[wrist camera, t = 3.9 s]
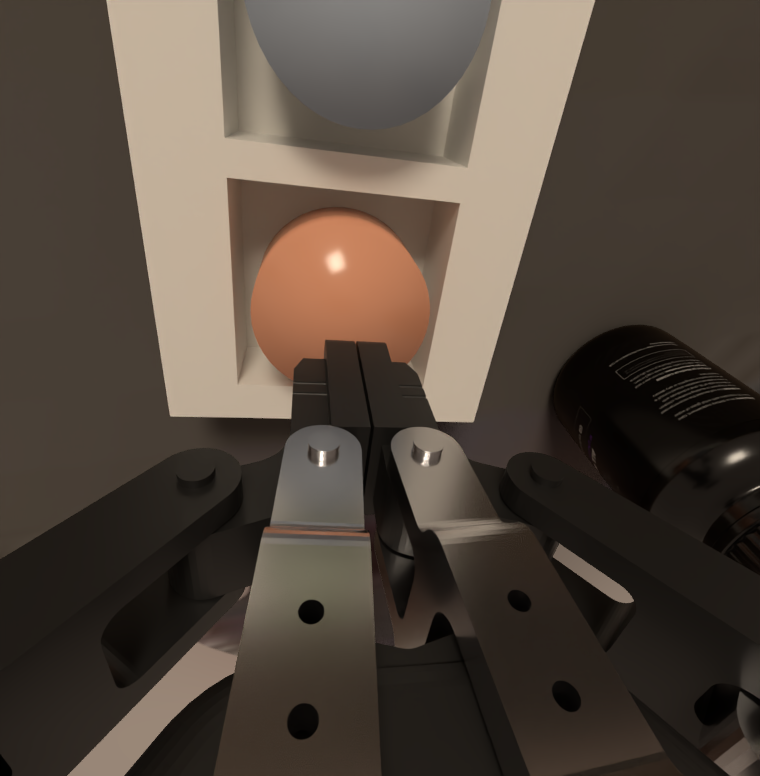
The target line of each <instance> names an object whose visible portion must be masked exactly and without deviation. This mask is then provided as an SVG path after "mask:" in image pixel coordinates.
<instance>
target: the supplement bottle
mask: <svg viewBox="0 0 760 776" xmlns="http://www.w3.org/2000/svg"><path fill="white" fill-rule="evenodd" d="M553 403H554V409H555V412H556V415H557V417H558V418H559V420H560V422H561V423H562V425H563V426H564V427H565V429H566V430H567V431H568V433H569V434H570V435H571V437H572V438H573V439H574V441H575V442H576V443H577V445H578V446H579V447H580V449H581V450H582V451H583V452H584V454H585V455H586V456H587V458H588V459H589V460H590V462H591V463H592V464H593V465H594V467H595V468H596V469H597V471H598V472H599V473H600V475H601V476H602V477H603V479H604V480H605V481H606V482H607V484H608V485H609V486H610V488H611V489H612V490H613V491H614V492H615V493H617V494H619V495H621V496H622V497H624V498H626V499H628V500H629V501H631V502H633V503H635V504H636V505H638V506H640V507H642V508H643V509H645V510H647V511H648V512H650V513H652V514H654V515H655V516H657V517H659V518H661V519H662V520H664V521H666V522H668V523H669V524H671V525H673V526H675V527H676V528H678V529H680V530H682V531H683V532H685V533H687V534H688V535H690V536H692V537H694V538H695V539H697V540H699V541H701V542H702V543H704V544H706V545H708V546H709V547H711V548H713V549H715V550H716V551H718V552H720V553H722V554H723V555H725V556H727V557H728V558H730V559H732V560H734V561H735V562H737V563H739V564H741V565H742V566H744V567H746V568H748V569H749V570H751V571H753V572H755V573H756V574H758V575H760V394H758V393H757V392H755V391H754V390H752V389H751V388H749V387H748V386H746V385H745V384H743V383H742V382H741V381H739V380H738V379H736V378H735V377H733V376H732V375H730V374H729V373H727V372H726V371H724V370H723V369H721V368H720V367H718V366H717V365H715V364H714V363H712V362H711V361H709V360H708V359H706V358H705V357H704V356H702V355H701V354H699V353H698V352H696V351H695V350H693V349H692V348H690V347H689V346H687V345H686V344H684V343H683V342H681V341H679V340H678V339H676V338H675V337H673V336H672V335H670V334H669V333H667V332H665V331H663V330H661V329H659V328H656V327H652V326H647V325H629V326H623V327H619V328H615V329H612V330H609V331H607V332H604V333H602V334H600V335H598V336H596V337H595V338H593V339H591V340H590V341H588V342H587V343H586V344H584V345H583V346H582V347H581V348H580V349H578V350H577V351H576V352H575V353H574V354H573V355H572V356H571V358H570V359H569V360H568V361H567V363H566V364H565V365H564V367H563V369H562V370H561V372H560V374H559V376H558V379H557V381H556V384H555V388H554V394H553Z"/></svg>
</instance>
